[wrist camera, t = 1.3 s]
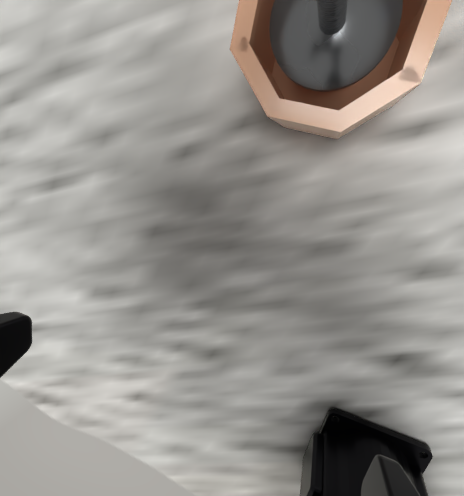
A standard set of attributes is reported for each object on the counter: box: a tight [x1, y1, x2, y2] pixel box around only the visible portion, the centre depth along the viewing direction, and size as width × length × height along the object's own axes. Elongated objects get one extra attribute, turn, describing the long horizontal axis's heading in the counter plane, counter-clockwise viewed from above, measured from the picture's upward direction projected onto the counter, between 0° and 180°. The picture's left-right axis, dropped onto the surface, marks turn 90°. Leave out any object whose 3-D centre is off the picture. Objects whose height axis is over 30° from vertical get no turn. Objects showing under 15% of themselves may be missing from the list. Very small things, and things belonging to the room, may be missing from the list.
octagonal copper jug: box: [230, 0, 452, 139], centre depth 13 cm, size 7×9×6 cm
